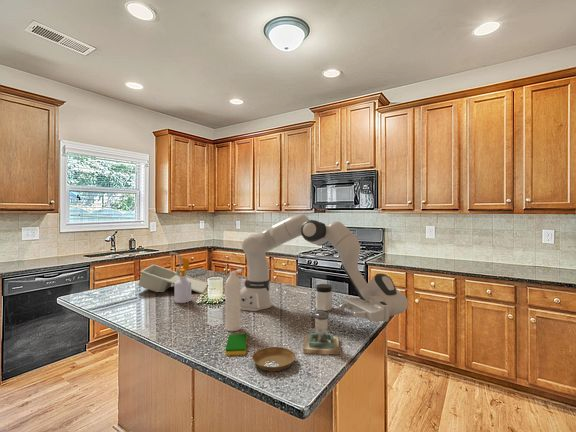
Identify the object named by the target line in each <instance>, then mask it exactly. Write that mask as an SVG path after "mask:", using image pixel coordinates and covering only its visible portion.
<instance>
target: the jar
mask: <svg viewBox="0 0 576 432" xmlns="http://www.w3.org/2000/svg"><path fill="white" fill-rule="evenodd" d="M332 287H333V286H332V285H331V284H327V283H319V284H316V286H315V308H316V310H317V311H323V312H327V311H333V310H332V309H333V291H332Z"/></svg>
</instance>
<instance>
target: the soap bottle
mask: <svg viewBox="0 0 576 432" xmlns="http://www.w3.org/2000/svg"><path fill="white" fill-rule="evenodd" d="M180 259H182V268H181V269H180V270H178V271H180V273H181V275H180V279H179V280H178V281H176V282H175V284H173V285H174V294H173V295H174V303H177V304H185V303H186V302H187V303H190V302H191V301H192V290H191V281H189V280H188V279H186V276H187V274H185V273H186V271H190V260H189V258H183V257H181V258H179V257H178V260H180ZM189 301H190V302H189Z"/></svg>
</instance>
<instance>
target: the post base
mask: <svg viewBox="0 0 576 432" xmlns="http://www.w3.org/2000/svg"><path fill="white" fill-rule="evenodd" d="M302 351H303V353H302V354H311V353H313V354H315V353H317V354H315V355H329V354H340V352H341V351H340V343H339V336H338V335H334V334H333V333H328V343H324V342H315V332H314V333H313V332H312V333H311V332H310V333H309V334H305V335H304V342H303V350H302Z"/></svg>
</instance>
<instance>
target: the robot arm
mask: <svg viewBox="0 0 576 432" xmlns="http://www.w3.org/2000/svg"><path fill="white" fill-rule="evenodd" d="M300 236H302V238H303V239H304V240H306V241H307V242H309V243H310V244H312V245H316V246H325V245H327V244H328V243H330V245H332V247H333V248H334V249H335V251H336V253H337V254H338V256H339V258H340V261H341V265H342V266H341V267H342V268H343V270H344V272H345V273H346V275H347V277H348V278H349V280H350V282H351V284H352V285H353V286H354V287H353V288H355V290H356V292H357V294H358V297H345V298H343V299H342V303H341V304H339V305H338V309H339V310H345V309H347V310H349V311H351V312H352V317H354V318H363V319H365V320H367V321H369V322H373V323H380V322H385V323H386V322H389V318H390V317H392V316H396V315H399V314H402V313H405V311H406V310H407V308H408V306H409V304H408V299H407V297H406V295H405V294H404V293H402V292H400V291H399V290H398V289H397V287H396V286H395V283H394V281H393V279H392V278H391V277H390V276H389V275H387V274H384V273H376V274H375V275H374V276H373V277H372V278H371V279H370V280H369V281H368V282H367V281H366V279H365V277H364V276H363V275H362V273H361V271H360V269H359V267H358V261H359V256H360V254H361V244H360V242H359V240H358V238H357V237H356V236H355V235H354V233H352V231H351V230H350V229H349V228H348V227H347V226H346V225H345V224H343V223H342V222H341V221H337V220H335V221H332V222H331V223H329V224H327V225H326V224H325V223H324V222H320V221H319V220H314V219H309V217H308V216H307V215H306V214H303V213H298V214H294V215H292V216H289V217H287V218H285V219H283V220H281V221H279V222H277V223H275V224H273V225H271V226H270V227H268V228H267V229H264V230H263V231H261V232H258V233H254V234H249V235H248V236H247V237H245V238H244V239H243V241H242V244H241V248H242V250H243V252H244V254H245V258H246V260H247V261H246V262H247V271H248V272H247V273H248V277H247V278H245V280H244V283H243V284H244V286H243V287H242V288H240V301H241V304H240V306H241V308H240V310H242V311H243V310H244V311H251V312H257V311H261V310H265V309H269V308H271V307H272V306H273V305H272V301H271V295H270V287H271V282H270V265H269V262H268V260H267V255H266V253H267V252H269V251H271V250H273V249H275V248H277V247H279V246H281V245H283V244H286V243H287V242H290V241H292V240H294V239H296V238H298V237H300Z"/></svg>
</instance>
